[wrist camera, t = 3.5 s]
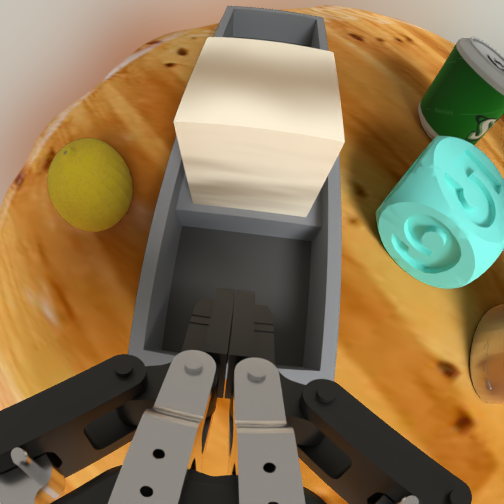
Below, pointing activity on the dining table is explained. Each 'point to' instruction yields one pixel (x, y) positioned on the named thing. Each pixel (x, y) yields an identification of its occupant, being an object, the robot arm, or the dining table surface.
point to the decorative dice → (445, 215)
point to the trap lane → (246, 247)
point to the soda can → (465, 93)
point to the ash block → (260, 125)
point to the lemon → (90, 185)
